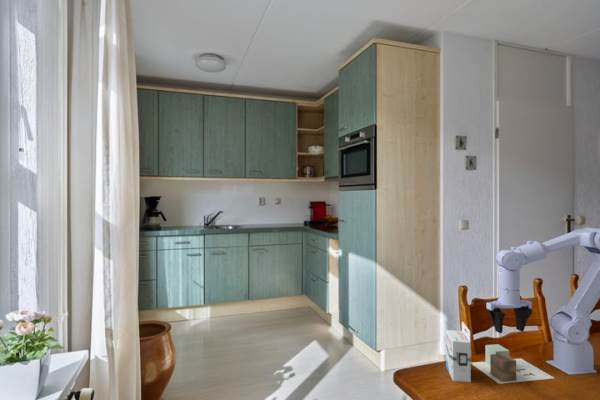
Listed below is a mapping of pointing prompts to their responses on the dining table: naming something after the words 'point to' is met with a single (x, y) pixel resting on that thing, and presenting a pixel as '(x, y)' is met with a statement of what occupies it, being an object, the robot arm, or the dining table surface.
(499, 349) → the sage block
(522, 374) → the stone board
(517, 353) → the dining table surface
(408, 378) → the dining table surface
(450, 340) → the ink box
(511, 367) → the walnut block
